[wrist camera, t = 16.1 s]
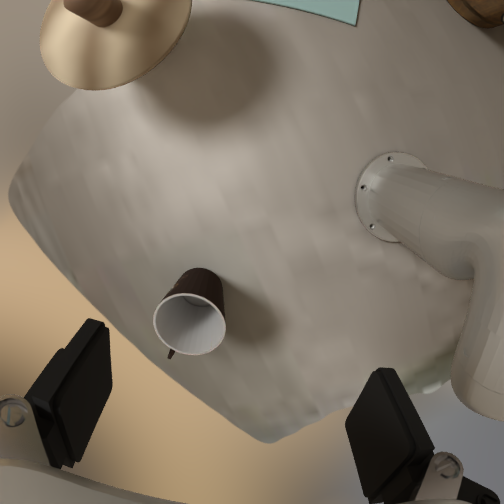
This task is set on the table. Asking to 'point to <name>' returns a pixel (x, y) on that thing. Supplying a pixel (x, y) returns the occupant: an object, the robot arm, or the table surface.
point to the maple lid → (109, 39)
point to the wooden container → (480, 11)
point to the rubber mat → (324, 8)
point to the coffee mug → (192, 314)
